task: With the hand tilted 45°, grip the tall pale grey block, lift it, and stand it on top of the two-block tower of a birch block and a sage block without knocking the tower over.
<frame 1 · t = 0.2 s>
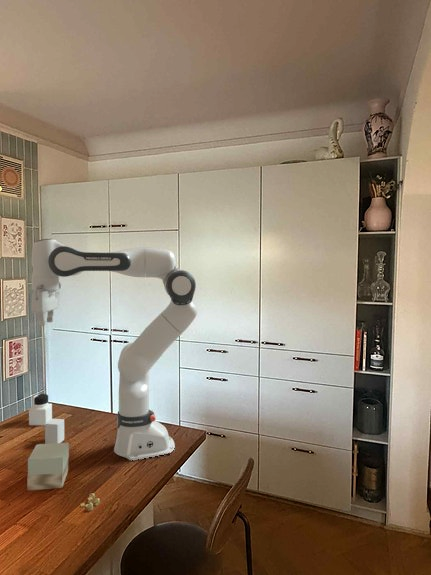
hand: (46, 323, 140), 47 cm above the table, tool pointing down, fingers open, 8 cm apart
grey block: (54, 441, 152), on the table
birch block: (48, 480, 126), on the table
sage block: (49, 465, 125), point 5 cm above the table
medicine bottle: (40, 422, 170), on the table
beige lumpy cluster: (91, 507, 114), on the table
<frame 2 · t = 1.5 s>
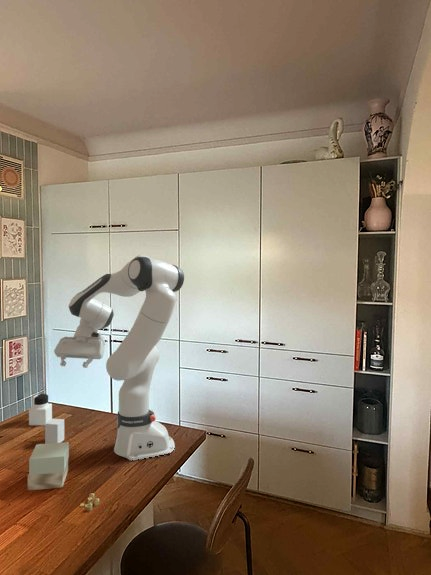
hand: (73, 366, 159), 27 cm above the table, tool tilted 45°, fingers open, 8 cm apart
birch block: (48, 480, 126), on the table, touching sage block
sage block: (50, 465, 126), point 5 cm above the table, touching birch block
everything else where it was.
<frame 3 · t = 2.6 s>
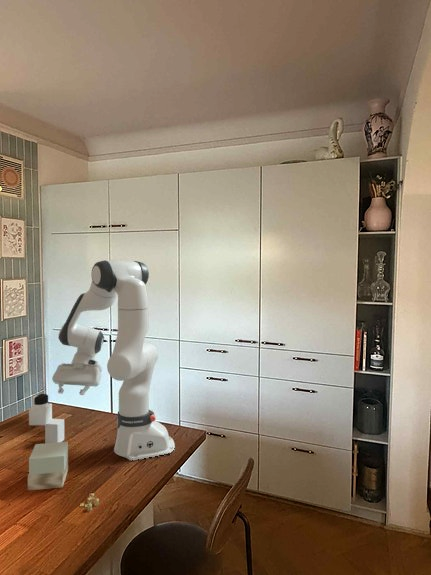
hand: (70, 393, 164), 15 cm above the table, tool tilted 45°, fingers open, 8 cm apart
birch block: (48, 480, 126), on the table
sage block: (49, 465, 126), point 5 cm above the table
everything else where it was.
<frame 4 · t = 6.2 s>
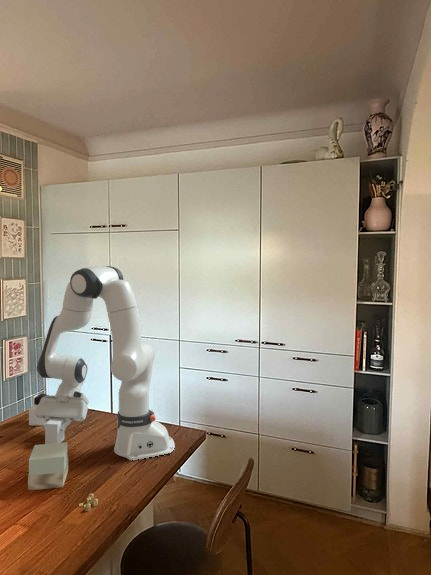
hand: (54, 429, 151), 5 cm above the table, tool tilted 45°, fingers closed on grey block, 5 cm apart
grey block: (54, 441, 152), on the table, touching gripper
birch block: (49, 480, 126), on the table, touching sage block
sage block: (49, 465, 125), point 5 cm above the table, touching birch block
everything else where it was.
when the fingers open (16 cm above the table, at t = 13.9 s): grey block drops 1 cm, resting on sage block.
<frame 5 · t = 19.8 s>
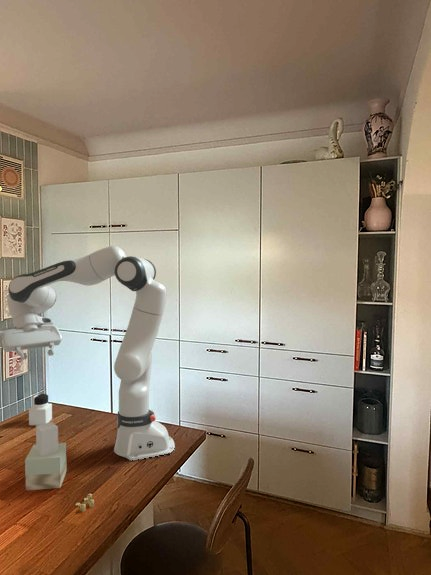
hand: (38, 356, 141), 35 cm above the table, tool tilted 45°, fingers open, 8 cm apart
grey block: (47, 451, 125), point 10 cm above the table, touching sage block
sage block: (46, 466, 125), point 5 cm above the table, touching birch block, grey block
at the end: grey block 0.4 cm off-centre on the sage block, point 5.0 cm above the sage block's base; grey block tilted 0°; sage block 0.1 cm off-centre on the birch block, point 5.0 cm above the birch block's base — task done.
